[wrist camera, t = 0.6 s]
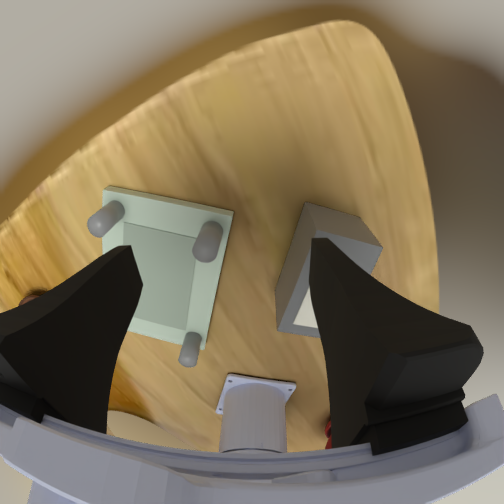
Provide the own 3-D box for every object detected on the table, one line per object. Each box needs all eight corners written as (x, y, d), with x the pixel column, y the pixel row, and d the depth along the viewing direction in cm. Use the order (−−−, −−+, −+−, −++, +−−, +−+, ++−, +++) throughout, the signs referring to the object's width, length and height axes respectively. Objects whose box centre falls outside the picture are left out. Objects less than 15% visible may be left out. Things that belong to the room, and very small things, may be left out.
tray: (205, 342, 27) (199, 373, 24) (112, 318, 26) (97, 345, 23) (233, 211, 21) (228, 235, 17) (108, 185, 20) (82, 203, 16)
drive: (323, 299, 24) (334, 340, 20) (274, 289, 24) (277, 331, 20) (359, 216, 21) (383, 248, 16) (304, 201, 20) (317, 230, 16)
